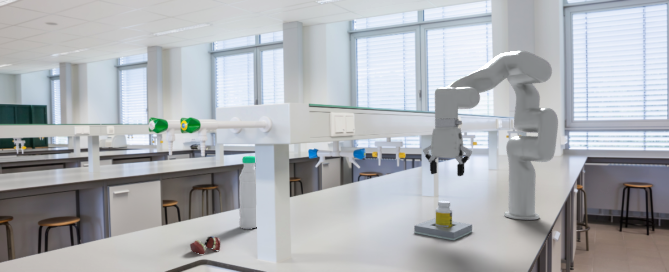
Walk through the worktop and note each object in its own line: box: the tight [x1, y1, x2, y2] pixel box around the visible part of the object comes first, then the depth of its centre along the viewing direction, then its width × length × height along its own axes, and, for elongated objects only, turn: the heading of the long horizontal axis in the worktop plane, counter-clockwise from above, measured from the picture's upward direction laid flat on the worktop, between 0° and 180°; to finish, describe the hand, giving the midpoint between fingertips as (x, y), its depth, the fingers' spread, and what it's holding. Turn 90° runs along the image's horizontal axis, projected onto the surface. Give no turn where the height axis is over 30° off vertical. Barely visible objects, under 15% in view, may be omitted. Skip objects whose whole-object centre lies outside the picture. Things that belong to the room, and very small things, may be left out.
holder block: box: [413, 217, 473, 241], centre depth 144 cm, size 14×14×2 cm
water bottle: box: [238, 155, 257, 230], centre depth 151 cm, size 7×7×25 cm
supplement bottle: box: [435, 200, 453, 228], centre depth 144 cm, size 5×5×10 cm
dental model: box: [189, 235, 221, 255], centre depth 123 cm, size 6×4×8 cm
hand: (446, 174), depth 146 cm, fingers open, 9 cm apart
